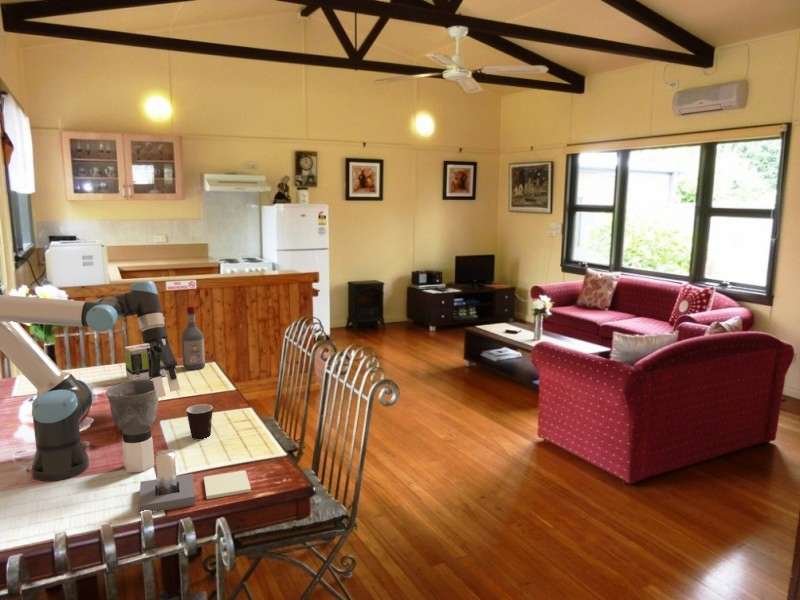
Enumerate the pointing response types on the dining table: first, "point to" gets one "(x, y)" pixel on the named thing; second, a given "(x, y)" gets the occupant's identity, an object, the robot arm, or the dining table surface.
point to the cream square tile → (226, 484)
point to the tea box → (139, 362)
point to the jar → (137, 448)
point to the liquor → (192, 344)
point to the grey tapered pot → (133, 403)
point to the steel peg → (166, 472)
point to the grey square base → (167, 495)
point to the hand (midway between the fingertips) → (168, 393)
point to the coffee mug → (200, 420)
